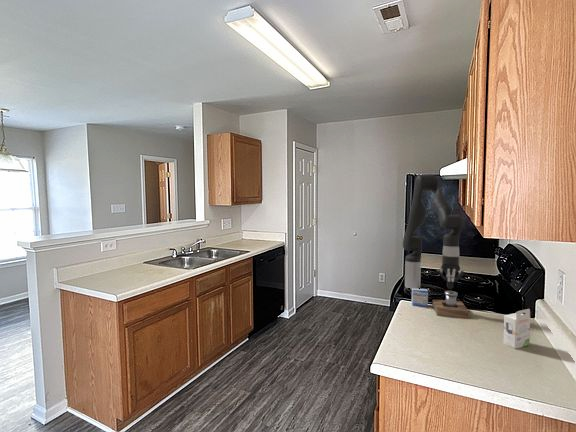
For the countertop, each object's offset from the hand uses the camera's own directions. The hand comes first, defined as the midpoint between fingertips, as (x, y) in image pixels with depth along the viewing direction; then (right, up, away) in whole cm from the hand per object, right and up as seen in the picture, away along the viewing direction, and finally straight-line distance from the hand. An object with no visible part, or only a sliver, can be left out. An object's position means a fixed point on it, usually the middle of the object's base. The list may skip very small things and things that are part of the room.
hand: (450, 288), depth 162 cm
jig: (0, -12, +1) cm, 12 cm away
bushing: (+1, -12, +1) cm, 12 cm away
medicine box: (-11, -12, +11) cm, 19 cm away
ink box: (+8, -14, -35) cm, 39 cm away
